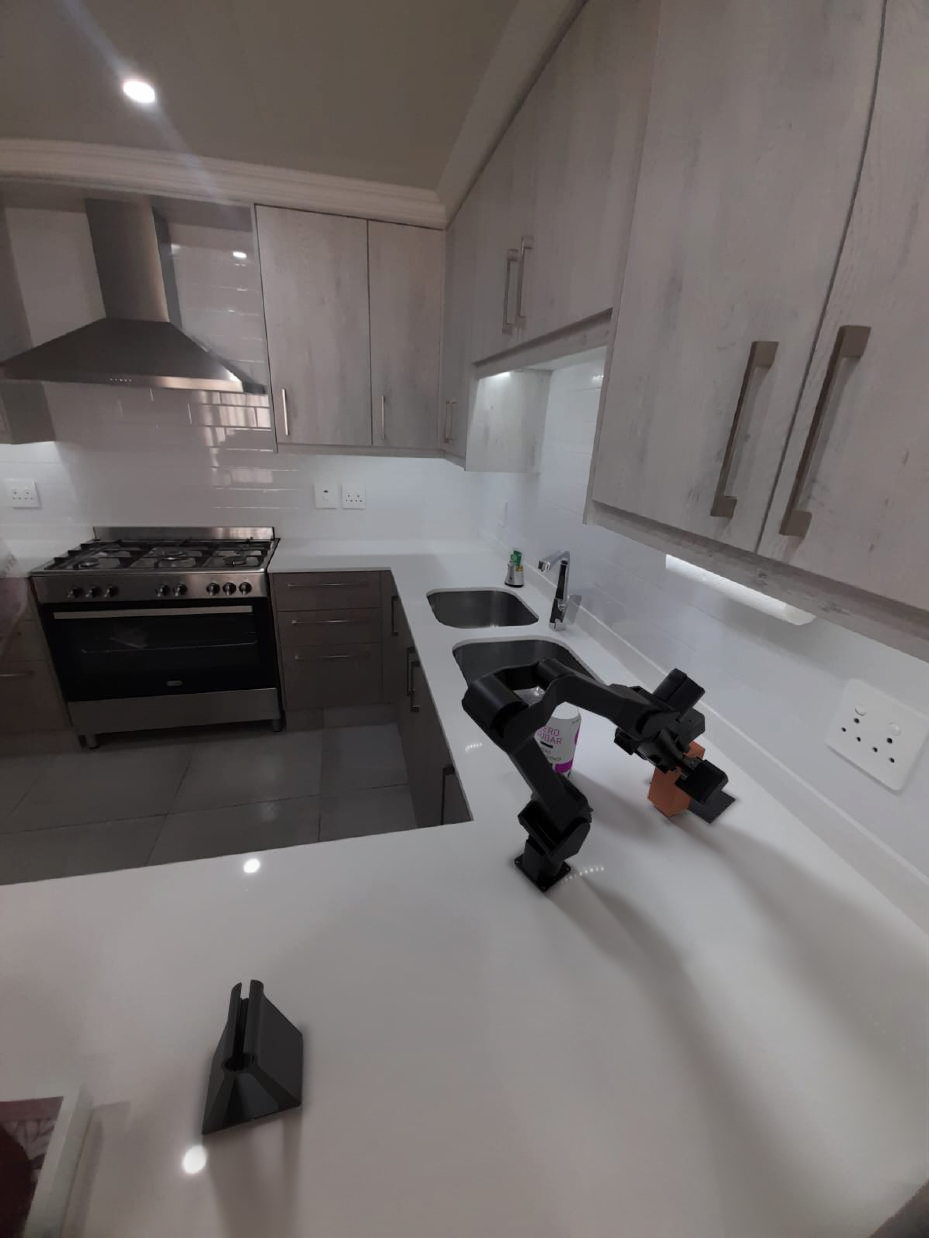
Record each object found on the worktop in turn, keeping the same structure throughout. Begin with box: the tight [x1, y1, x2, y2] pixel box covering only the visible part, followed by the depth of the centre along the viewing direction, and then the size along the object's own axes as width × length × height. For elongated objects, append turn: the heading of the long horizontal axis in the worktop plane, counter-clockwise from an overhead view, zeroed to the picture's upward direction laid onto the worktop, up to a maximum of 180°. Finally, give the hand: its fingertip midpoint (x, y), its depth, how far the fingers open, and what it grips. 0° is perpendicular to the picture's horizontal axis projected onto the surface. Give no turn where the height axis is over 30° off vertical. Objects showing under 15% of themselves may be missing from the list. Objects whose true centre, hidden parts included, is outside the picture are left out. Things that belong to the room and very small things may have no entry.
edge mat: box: [649, 781, 736, 824], centre depth 93 cm, size 10×12×1 cm
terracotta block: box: [646, 740, 707, 818], centre depth 86 cm, size 5×5×13 cm
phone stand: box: [200, 979, 303, 1136], centre depth 47 cm, size 9×6×12 cm, turn 105°
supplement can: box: [534, 702, 582, 780], centre depth 92 cm, size 8×8×15 cm
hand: (681, 771), depth 86 cm, fingers closed on terracotta block, 5 cm apart
